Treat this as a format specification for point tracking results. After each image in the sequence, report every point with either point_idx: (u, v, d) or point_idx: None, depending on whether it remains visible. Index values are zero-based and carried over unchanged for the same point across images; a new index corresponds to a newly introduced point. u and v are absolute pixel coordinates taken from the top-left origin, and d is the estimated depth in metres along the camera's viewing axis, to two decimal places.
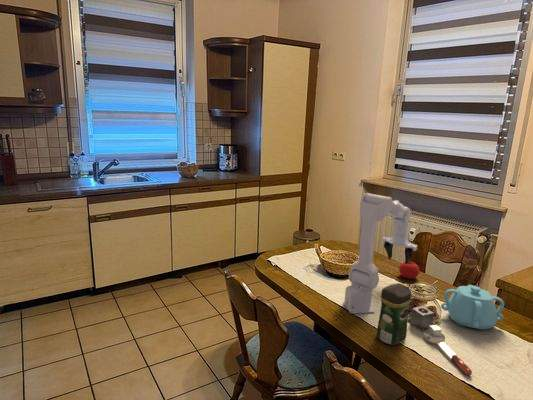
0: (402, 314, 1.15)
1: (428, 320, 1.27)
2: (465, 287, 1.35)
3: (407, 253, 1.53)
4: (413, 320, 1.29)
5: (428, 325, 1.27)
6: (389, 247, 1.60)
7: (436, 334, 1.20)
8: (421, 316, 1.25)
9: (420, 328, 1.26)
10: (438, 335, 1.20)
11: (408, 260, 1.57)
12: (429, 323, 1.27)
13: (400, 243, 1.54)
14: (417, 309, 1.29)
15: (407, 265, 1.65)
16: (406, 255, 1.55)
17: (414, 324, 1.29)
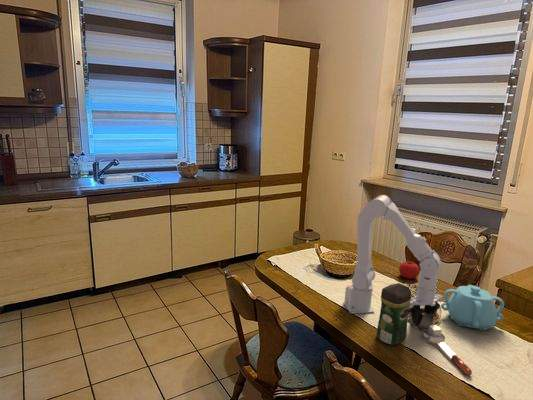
0: (402, 314, 1.15)
1: (428, 320, 1.27)
2: (465, 287, 1.35)
3: None
4: None
5: (428, 325, 1.27)
6: None
7: (436, 334, 1.20)
8: (421, 316, 1.25)
9: (420, 328, 1.26)
10: (438, 335, 1.20)
11: (415, 321, 1.27)
12: (429, 323, 1.27)
13: None
14: None
15: (407, 265, 1.65)
16: None
17: (414, 324, 1.29)
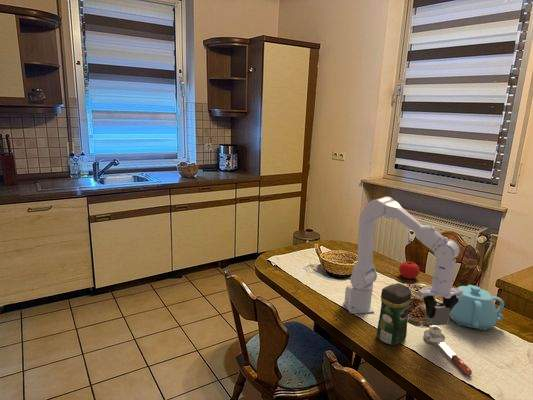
0: (402, 314, 1.15)
1: (442, 315, 1.17)
2: (465, 287, 1.35)
3: None
4: None
5: (443, 320, 1.18)
6: (443, 296, 1.21)
7: (436, 334, 1.20)
8: (434, 309, 1.17)
9: (433, 322, 1.18)
10: (438, 335, 1.20)
11: (428, 313, 1.19)
12: (445, 318, 1.18)
13: None
14: None
15: (407, 265, 1.65)
16: None
17: (428, 318, 1.21)
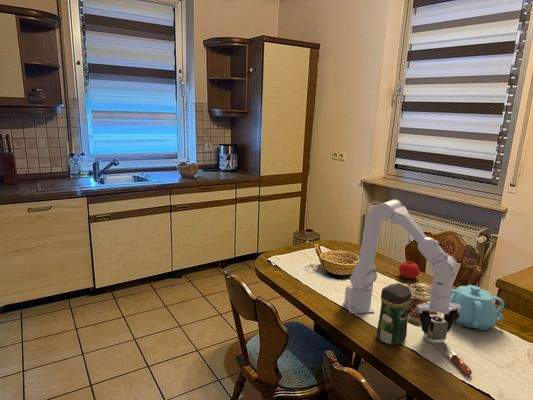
0: (402, 314, 1.15)
1: (441, 330, 1.18)
2: (465, 287, 1.35)
3: None
4: None
5: (441, 335, 1.19)
6: None
7: None
8: (433, 324, 1.18)
9: (431, 337, 1.19)
10: None
11: (423, 328, 1.20)
12: (443, 333, 1.19)
13: None
14: None
15: (407, 265, 1.65)
16: None
17: None
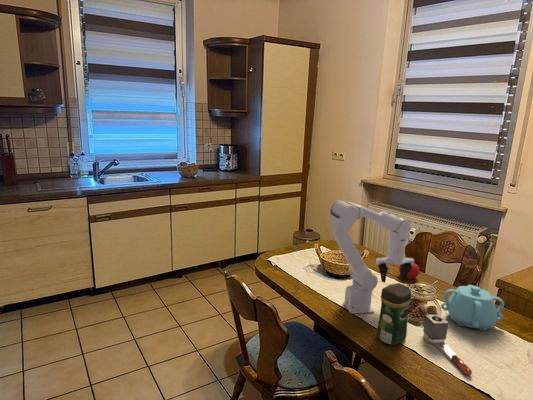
0: (402, 314, 1.15)
1: (441, 330, 1.18)
2: (465, 287, 1.35)
3: None
4: (426, 328, 1.22)
5: (441, 335, 1.19)
6: (401, 264, 1.43)
7: None
8: (433, 324, 1.18)
9: (431, 337, 1.19)
10: None
11: (382, 278, 1.41)
12: (443, 333, 1.19)
13: None
14: (430, 316, 1.21)
15: None
16: None
17: (426, 332, 1.21)
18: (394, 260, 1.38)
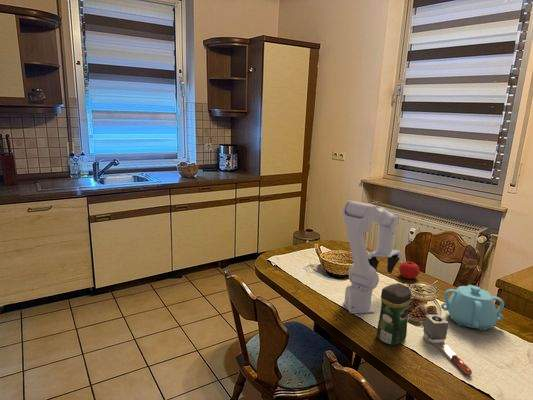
0: (402, 314, 1.15)
1: (441, 330, 1.18)
2: (465, 287, 1.35)
3: None
4: (426, 328, 1.22)
5: (441, 335, 1.19)
6: (388, 257, 1.50)
7: None
8: (433, 324, 1.18)
9: (431, 337, 1.19)
10: None
11: None
12: (443, 333, 1.19)
13: None
14: (430, 316, 1.21)
15: (407, 265, 1.65)
16: None
17: (426, 332, 1.21)
18: (384, 253, 1.44)
